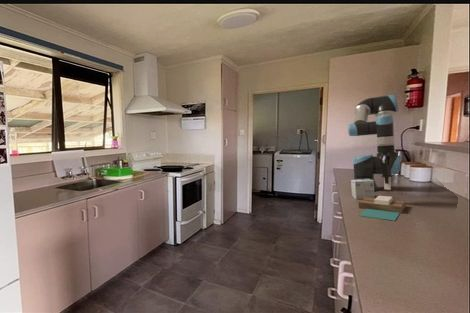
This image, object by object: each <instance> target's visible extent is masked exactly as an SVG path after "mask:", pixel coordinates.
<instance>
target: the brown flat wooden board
mask: <svg viewBox="0 0 470 313" xmlns="http://www.w3.org/2000/svg"><path fill="white" fill-rule="evenodd" d="M376 198H377V197H375V198H369V197H365V198H364V199H360V201H358V209H364V210H365V209H374V210H382V211H390V212H398V213H400V214H402V213H403V212H404V210H405V208H406V207H407V206H406V204H407V203H406V200H403V199H402V200H399V199H393V201H392V202H391V203H390V204H389V205H383V204H374V199H376Z"/></svg>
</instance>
